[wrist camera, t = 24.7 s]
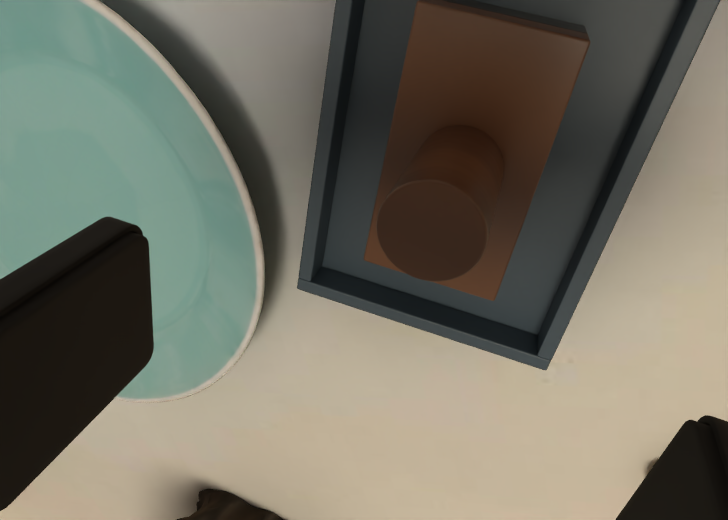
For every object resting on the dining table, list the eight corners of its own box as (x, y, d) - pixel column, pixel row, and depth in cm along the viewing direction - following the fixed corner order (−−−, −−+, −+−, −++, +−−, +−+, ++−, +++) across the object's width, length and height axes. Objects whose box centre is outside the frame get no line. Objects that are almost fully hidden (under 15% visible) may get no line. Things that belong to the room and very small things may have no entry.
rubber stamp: (438, -8, 19) (366, 17, 12) (586, 26, 18) (604, 75, 11) (386, 222, 24) (313, 339, 17) (502, 257, 23) (477, 396, 16)
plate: (-7, 339, 37) (-46, 366, 35) (-164, -40, 26) (-235, -39, 24) (303, 405, 31) (282, 442, 29) (264, -46, 21) (226, -45, 18)
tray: (370, -110, 19) (351, -116, 17) (719, -40, 17) (739, -39, 15) (313, 266, 27) (296, 289, 25) (546, 341, 25) (546, 371, 23)
